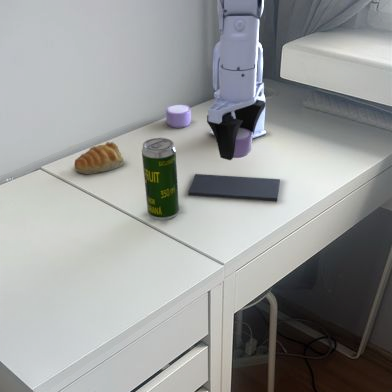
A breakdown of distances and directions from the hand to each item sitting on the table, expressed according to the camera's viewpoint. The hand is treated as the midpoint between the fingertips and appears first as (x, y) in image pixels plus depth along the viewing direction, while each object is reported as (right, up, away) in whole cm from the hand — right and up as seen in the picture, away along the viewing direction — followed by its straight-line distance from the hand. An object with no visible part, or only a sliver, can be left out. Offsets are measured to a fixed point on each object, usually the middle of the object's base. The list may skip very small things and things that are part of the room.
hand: (235, 151), depth 88 cm
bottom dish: (-11, +17, +27) cm, 33 cm away
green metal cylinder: (-13, -11, 0) cm, 17 cm away
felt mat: (0, -5, +5) cm, 7 cm away
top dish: (0, 0, 0) cm, 0 cm away
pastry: (-26, +2, +13) cm, 29 cm away
